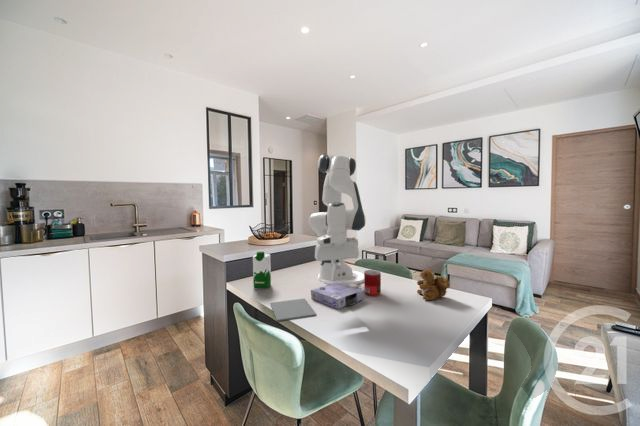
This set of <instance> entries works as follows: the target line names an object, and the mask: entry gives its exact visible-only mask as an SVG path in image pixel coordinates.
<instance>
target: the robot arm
mask: <svg viewBox="0 0 640 426" xmlns="http://www.w3.org/2000/svg"><path fill="white" fill-rule="evenodd" d="M317 168H318V171H319V172H321V173H323V174H326V175H325V179H324V183H323V188H322V189H323V190H322V198H321V199H322V203H323V205H325V206H326V207H327V210H326V211H321V212H320V211H319V212H314V213H312V214H311V215H310V216H309V218H308V225H309V227H310V229H311V230H313V231H314V232H315V234H316V235H317V238H316V243H317V244H316V245H315V247H314V248H315V249H314V259H315V260H316V261H318V262H319V263H320V268H319V273H318V275H319V278H320V279H322V280H329V281H336V280H339V281H341V280H352V279H355V278H357V276H356V275H354V274H353V271H354V270H353V269H352V268H353V267H351V266H350V265H349V264H348V263H346V262H345V261H344V260H348V259H357V258H359V255H360V254H359V253H360V251H359V240H358V239H357V238H356V237H348V233H347V231H348V230H351V231H360V230H362V229H363V228H364V227H365V225H366V221H367V220H366V215H365V211H364V210H363V206H362V205H363V204H362V201H361V196H360V192H359V187H358V185H357V183H356V181H354V180H353V179H352V178H351V176H353V175H354V174H355V172H356V169H357V161H356V160H355V158H354V157H353V158H352V157H350V156H349V157H348V156H343V155H335V154H322V155H320V157H319V158H318V160H317ZM342 194H344V195H348V196H349V197H350V198H351V202H352V205H353V208H352V209H347V208H346V204H345V203H344V202H342ZM319 278H318V277H317V280H318V281H319V280H320V279H319ZM320 282H321V280H320Z"/></svg>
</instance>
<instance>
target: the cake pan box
mask: <svg viewBox="0 0 640 426" xmlns="http://www.w3.org/2000/svg"><path fill="white" fill-rule="evenodd" d="M364 294H365V291H364V290H363V289H360V288H358V287H356V288H354V287H351V286H347V285H343V284H340V283H333V284H326V285H323V286H320V287H316V288H313V289H310V295H311V296H310V297H311V299H312V300H314V301H316V302H319V303H321V304H324V305H326V306H329V307H332V308H334V309H336V310H339V309H342V308H345V307H347V306H348V307H349V306H351V305H354V304H356V303H357V302H360V301H362V300H364Z"/></svg>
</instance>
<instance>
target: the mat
mask: <svg viewBox="0 0 640 426" xmlns="http://www.w3.org/2000/svg"><path fill="white" fill-rule="evenodd" d="M270 306H271V310H272V312H273V315H274V317H275V320H276V322H280V321H281V322H282V321H289V320H295V319H302V318H309V317H316V316H317V313H316V311H315V310H314V308H312V306H311V304H309V302H308V301H307V300H306V298H299V299H289V300H281V301H274V302H270Z"/></svg>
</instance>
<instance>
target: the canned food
mask: <svg viewBox="0 0 640 426" xmlns="http://www.w3.org/2000/svg"><path fill="white" fill-rule="evenodd" d="M363 274H364V282H363V284H364V287H363V288H364V294H365V295H367V296H369V297H378V296H380V295H381V292H382V290H381V288H382V287H381V286H382V284H381V283H382V281H381V280H382V279H381V278H382V277H381V271H379V270H376V269H368V270H364V273H363Z"/></svg>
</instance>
